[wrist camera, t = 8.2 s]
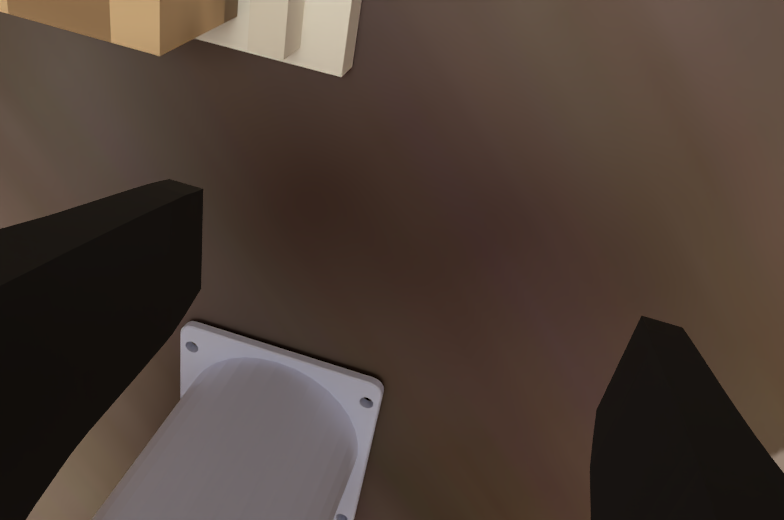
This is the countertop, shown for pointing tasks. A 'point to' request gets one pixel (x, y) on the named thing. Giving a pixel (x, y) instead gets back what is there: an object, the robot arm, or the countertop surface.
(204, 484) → the robot arm
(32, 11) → the frame
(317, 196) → the countertop surface
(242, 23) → the cream flat piece
